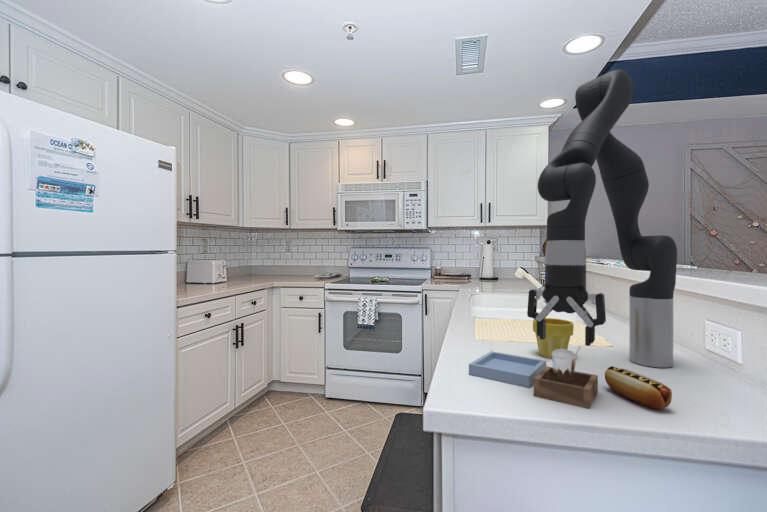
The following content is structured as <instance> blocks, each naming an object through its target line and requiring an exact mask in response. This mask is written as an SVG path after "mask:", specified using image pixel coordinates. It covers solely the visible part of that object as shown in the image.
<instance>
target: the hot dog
mask: <svg viewBox="0 0 767 512" xmlns="http://www.w3.org/2000/svg"><path fill="white" fill-rule="evenodd" d="M604 380H605V383H606V385H608V387H609V388H610V389H611V390H612V391H614V392H615V393H617V394H619V395H621V396H623V397H624V398H626V399H628V400H631V401H632V402H635V403H637V404H641V405H643V406H645V407H648V408H651V409H665V408H668V407H669V406H670V405H671V402H672V397H673V392H672V389H671V388H670V387H669V386H667V385H666V384H664V383H662V382H660V381H657V380H655V379H653V378H650V377H647V376H646V375H642V374H641V373H640V374H639V373H637V372H634V371H632V370H628V369H626V368H619V367H615V366H612V365H611V366H609V367H607V369H606V370H605V372H604Z"/></svg>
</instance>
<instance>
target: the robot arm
mask: <svg viewBox="0 0 767 512" xmlns="http://www.w3.org/2000/svg"><path fill="white" fill-rule="evenodd" d="M633 94H634V86H633V82H632V79H631V77H630V75H629V74H628V73H627V71H625V70H623V69H615V70H611V71H609V72H606V73H605V74H602V75H599V76H598V77H596V78H594V79H591V80H590V81H587V82H585V83H583V84H581V85H580V86H578V87H577V89H576V90H575V96H574V99H575V105H576V108H577V112H578V114H579V117H580V120H581V121H580V123H578V124H577V125H576V126H575V128H574V129H573V130H572V131H571V133H570V134H569V135H568V137H567V139H566V141H565V143H564V145H563V148H562V149H561V151H560V152H559V153H558V154H557V155H555V157H554V158H552V160H551V161H550V162H549V163H548V164H547V165H546V166H545V167H544V168H543V170H542V172H541V173H540V175H539V178H538V181H537V191H538V194H539V195H540V197H541V199H543V200H544V201H547V202H551V203H552V202H563V201H569V202H568V204H567V206H566V208H564V209H560V211H559V210H558V211H556V212H553V213H550V214H549V215H548V216H547V219H546V246H545V253H544V254H545V256H544V264H545V265H544V289H543V290H538V289H536V288H533V289H529V290H528V297H527V298H528V300H527V309H526V311H527V312H526V313H527V314H526V315H527V317H529V318H531V319H533V320H534V319H535V320H536V321H537V336H540V339H543V340H544V339H545V338H546V321H545V318H547V317H548V316H549V314H551V312H552V311H553V312H555V313H566V314H575V313H576V314H577V316H578V317H579V318H580V319H581V320H582V321H583V323H584V324H585V325H586V326H584V327H585V330H584V332H585V334H584V337H585V340H584V344H585V345H584V346H586V347H587V346H588V347H590V346H591V345H592V344H594V342H595V340H596V327H597V326H602V325H603V326H604V325H605V323H606V321H607V318H606V315H607V314H606V302H605V300H606V299H605V294H604V293H603V292H599V293H588V291H587V249H586V242H585V240H586V219H587V214H588V211H589V207H590V203H591V201H592V197H593V194H594V191H595V187H596V182H597V178H596V176H597V175H596V173H595V170H594V168H593V166H594V164H595V162H596V163H597V166H598V169H599V174H600V177H601V181H602V185H603V187H604V191H605V194H606V197H607V199H608V202H609V206H610V210H611V213H612V216H613V221H614V224H615V228H616V230H615V231H616V234H617V240H618V245H619V251H620V255H621V258H622V261H623V263H624V264H625V266H626V267H627V268H628V269H629V270H633V271H642V272H643V271H644V272H645V271H646V272H647V271H648V272H649V277H648V278H646V280H644V281H642V282H638V283H635V284H631V285H630V286H629V348H628V349H629V353H628V354H629V355H628V356H629V361H631V363H634V364H638V365H641V366H646V367H651V368H652V367H653V368H672V367H673V366H674V291H675V287H676V283H677V282H676V281H677V265H678V248H677V244H676V242H675V240H674V238H673V237H671V236H669V235H664V234H663V235H642V234H641V230H640V227H639V215H640V211H641V209H642V207H643V204H644V202H645V200H646V197H647V195H648V191H649V183H650V181H649V178H648V174H647V172H646V167H645V164H644V161H643V159H642V158H641V156H639V154H638V153H637V152H635V151H633V149H631V148H630V147H628V146H627V145H625V144H624V143H623V142H621V141H620V140H619V139H618V138H617V137H616V136H614V135H613V134H612V132H611V131H612V129H613V127H614V126H615V125H616V123H617V122H618V120H620V118H621V117H622V115H623V114H624V112H626V110H627V108H628V107H629V105H630V104H631V102H632V100H633V97H634V95H633ZM541 297H542V298H543V299H544V300H545V302H546V303H547V304H546V305H544V307H543V308H542V309H541V310H540V312H537V308H538V301H539V300H540V299H541ZM588 300H590V301H591V304H592V305H594V306H595V308H596V309H595V312H596V314H595V315H596V318H593V317H592V316H591V314H590V313H589V311H588V310H587V308H586V307H585V306H584V304H585V303H586V302H587V301H588Z"/></svg>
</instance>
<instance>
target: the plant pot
mask: <svg viewBox="0 0 767 512" xmlns="http://www.w3.org/2000/svg"><path fill="white" fill-rule="evenodd" d="M545 321H546V338H545V339H544V340H543V339H540V336H537V321H536V320H535V319H534V318H533V320H532V332H534V333H535V338H536V343H537V347H538V353H539V355H540V356H542V357H543V358H549V359H552V352H553V351H554V350H555V349H565V350H568V347H569V344H570V340H571V337H573V335H574V322H573V321H570V320H566V319H561V318H553V317H546V318H545Z"/></svg>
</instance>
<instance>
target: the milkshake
mask: <svg viewBox="0 0 767 512" xmlns="http://www.w3.org/2000/svg"><path fill="white" fill-rule="evenodd" d="M580 348H581V345H579V346H578V349H576V353H575V352H573V351H571V350H568V349H567V350H565V349H555V350H554V351H553V352H552V358H551V360H552V361H551V362H552V367H553V371H554V381H556V382H561V383H566V384H571V385H573V382H574V371H575V370H576V363H577V355H578V353H579V351H580Z"/></svg>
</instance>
